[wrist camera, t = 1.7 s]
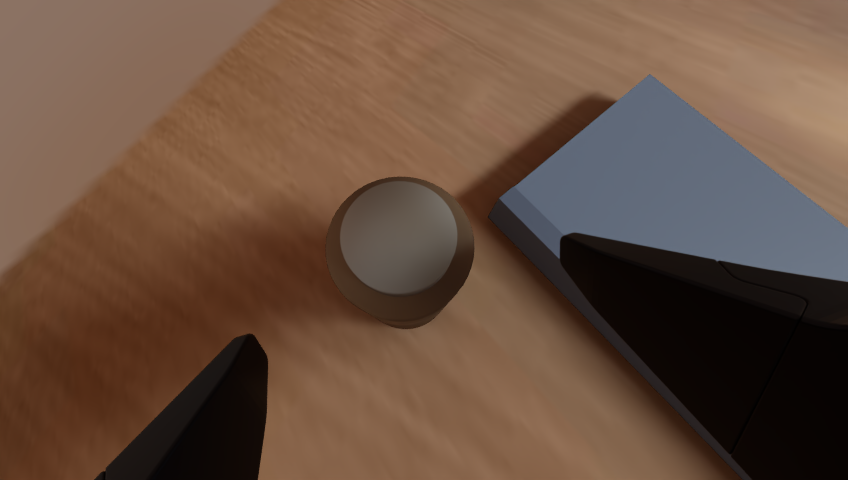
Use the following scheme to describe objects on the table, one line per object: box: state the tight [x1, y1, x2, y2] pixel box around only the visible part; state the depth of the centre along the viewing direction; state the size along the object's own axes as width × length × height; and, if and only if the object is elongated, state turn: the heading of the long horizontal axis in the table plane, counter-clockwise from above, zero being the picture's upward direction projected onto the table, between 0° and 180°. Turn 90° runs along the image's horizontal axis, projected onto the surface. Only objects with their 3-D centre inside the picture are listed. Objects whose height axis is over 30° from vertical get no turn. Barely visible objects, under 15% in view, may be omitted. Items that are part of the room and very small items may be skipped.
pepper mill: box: [326, 177, 474, 329], centre depth 15 cm, size 5×5×10 cm
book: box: [488, 74, 848, 480], centre depth 19 cm, size 14×22×3 cm, turn 41°
